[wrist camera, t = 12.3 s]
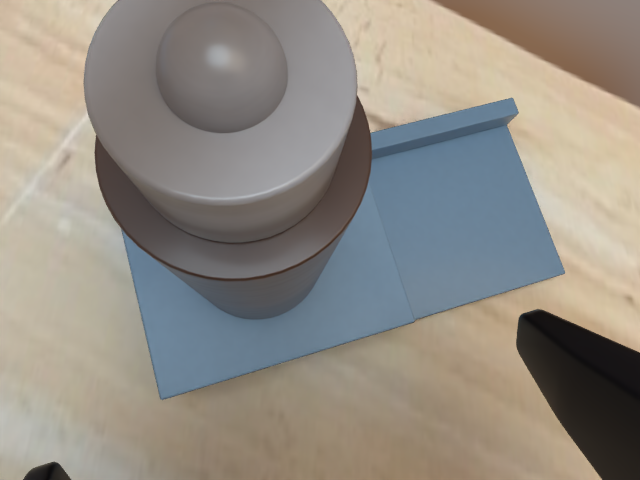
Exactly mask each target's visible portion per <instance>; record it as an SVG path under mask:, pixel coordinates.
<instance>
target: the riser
mask: <svg viewBox="0 0 640 480" xmlns="http://www.w3.org/2000/svg"><path fill="white" fill-rule="evenodd" d="M518 113H519V112H518V109H517V107H516V104H515V102H514V99H513V98H509V99H505V100H501V101H497V102H493V103H489V104H485V105H481V106H477V107H473V108H469V109H465V110H461V111H457V112H453V113H449V114H445V115H441V116H437V117H433V118H428V119H424V120H420V121H416V122H412V123H408V124H404V125H400V126H396V127H392V128H388V129H384V130H380V131H376V132H372V133H370V135H371V143H372V163H371V173H370V177H369V181H368V186H367V189H366V192H365V195H364V197H363V200H362V202H361V205H360V206H359V208H358V210H357V212H356V214H355V216H354V217H353V219H352V221H351V223H350V224H349V226H348V228H347V230H346V231H345V233H344V235H343V237H342V238H341V240H340V242H339V243H338V245H337V247H336V249H335V250H334V252H333V254H332V256H331V257H330V259H329V261H328V262H327V264H326V266H325V268H324V269H323V271H322V273H321V275H320V276H319V278H318V280H317V281H316V283H315V285H314V287H313V288H312V290H311V291H310V293H309V294H308V295H307V296H306V297H305V298H304V300H303V301H302V302H300V303H299V304H298V305H297V306H296V307H294V308H293V309H291V310H289V311H288V312H286V313H283V314H281V315H279V316H275V317H272V318H267V319H254V320H252V319H244V318H239V317H235V316H233V315H230V314H228V313H226V312H224V311H222V310H220V309H219V308H217V307H216V306H215V305H213V304H212V303H211V302H209V301H208V300H207V299H206V298H204V297H203V296H202V295H200V294H199V293H198V292H196V291H195V290H194V289H192V288H191V287H190V286H189V285H187V284H186V283H185V282H183V281H182V280H181V279H179V278H178V277H177V276H176V275H174V274H173V273H172V272H170V271H169V270H168V269H166V268H165V267H164V266H162V265H161V264H160V263H159V262H157V261H156V260H155V259H153V258H152V257H151V256H149V255H148V254H147V253H146V252H144V251H143V250H142V249H140V248H139V247H138V246H137V245H136V244H135V243H134V242H133V241H132V240H131V239H130V238H129V237H128V236H127V235H126V234H125V233H124V231H123V230H122V229H121V230H122V234H123V238H124V243H125V247H126V252H127V256H128V260H129V265H130V269H131V273H132V278H133V282H134V286H135V291H136V295H137V300H138V304H139V308H140V313H141V317H142V321H143V326H144V330H145V334H146V339H147V343H148V348H149V352H150V356H151V361H152V365H153V369H154V374H155V378H156V382H157V387H158V391H159V396H160V399H161V400H164V399H167V398H171V397H174V396H177V395H180V394H184V393H187V392H190V391H193V390H196V389H200V388H203V387H206V386H209V385H213V384H216V383H219V382H222V381H226V380H229V379H232V378H235V377H239V376H242V375H245V374H248V373H251V372H255V371H258V370H261V369H264V368H268V367H271V366H274V365H277V364H281V363H284V362H287V361H290V360H294V359H297V358H300V357H303V356H306V355H310V354H313V353H316V352H319V351H323V350H326V349H329V348H332V347H336V346H339V345H342V344H345V343H348V342H352V341H355V340H358V339H361V338H365V337H368V336H371V335H374V334H378V333H381V332H384V331H387V330H391V329H394V328H397V327H400V326H403V325H407V324H410V323H413V322H415V320H417V319H420V318H423V317H426V316H430V315H433V314H436V313H439V312H443V311H446V310H449V309H452V308H456V307H459V306H462V305H465V304H469V303H472V302H475V301H478V300H481V299H485V298H488V297H491V296H494V295H498V294H501V293H504V292H507V291H511V290H514V289H517V288H520V287H524V286H527V285H530V284H533V283H537V282H540V281H543V280H546V279H550V278H553V277H556V276H559V275H562V274H565V271H564V268H563V266H562V263H561V261H560V258H559V256H558V253H557V251H556V248H555V246H554V243H553V241H552V238H551V235H550V233H549V230H548V228H547V225H546V223H545V220H544V218H543V215H542V213H541V210H540V208H539V205H538V203H537V200H536V198H535V195H534V193H533V190H532V187H531V185H530V182H529V180H528V177H527V175H526V172H525V170H524V167H523V165H522V162H521V160H520V157H519V155H518V152H517V150H516V147H515V145H514V142H513V139H512V137H511V134H510V132H509V129H508V127H507V124H508V123H509V122H510V121H511V120H512V119H513V118H514V117H515V116H516V115H517V114H518Z"/></svg>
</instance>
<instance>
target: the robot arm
mask: <svg viewBox="0 0 640 480" xmlns="http://www.w3.org/2000/svg"><path fill="white" fill-rule="evenodd" d="M516 345H517V350H518V352H519V354H520V356H521V358H522V360H523V361H524V363H525V365H526V366H527V368H528V370H529V371H530V373H531V375H532V377H533V378H534V380H535V382H536V383H537V385H538V387H539V388H540V390H541V392H542V393H543V395H544V397H545V399H546V400H547V402H548V404H549V405H550V407H551V409H552V410H553V412H554V414H555V415H556V417H557V418H558V420H559V421H560V423H561V424H562V426H563V427H564V428H565V430H566V431H567V433H568V434H569V435H570V437H571V438H572V439H573V441H574V442H575V443H576V445H577V446H578V447H579V449H580V450H581V451H582V453H583V454H584V456H585V457H586V458H587V460H588V461H589V462H590V464H591V465H592V466H593V468H594V469H595V470H596V472H597V473H598V474H599V476H600V477H601V479H602V480H640V353H639V352H637V351H635V350H633V349H630V348H628V347H626V346H623V345H621V344H619V343H617V342H614V341H612V340H610V339H608V338H605V337H603V336H601V335H599V334H596V333H594V332H592V331H589V330H587V329H585V328H583V327H580V326H578V325H576V324H574V323H571V322H569V321H567V320H565V319H562V318H560V317H558V316H555V315H553V314H551V313H549V312H546V311H544V310H540V309H537V310H533V311H530V312H527V313H523V314H522V315H521V316H520V317H519V320H518V330H517V340H516ZM23 480H71V479H70V477H69V476H68V475H67V473H66V472H65V471H64V469H63V468H62V467H61V465H60V464H59V463H56V462H51V463H48V464H44V465H41V466H38V467H35V468H33V469H31V470H30V471H29V472H28V473H27V475H26V476H25V477H24V479H23Z"/></svg>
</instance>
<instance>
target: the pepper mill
mask: <svg viewBox="0 0 640 480" xmlns="http://www.w3.org/2000/svg"><path fill="white" fill-rule="evenodd" d="M357 88H358V86H357V70H356V65H355V60H354V56H353V53H352V50H351V47H350V44H349V41H348V39H347V37H346V35H345V33H344V31H343V29H342V27H341V25H340V24H339V22H338V21H337V19H336V18H335V16H334V15H333V13H332V12H331V11H330V10H329V9H328V7H327V6H326V5H325V4H324V3H323V2H322V1H321V0H118V1H117V2H116V3H115V4H114V5H113V6H112V7H111V8H110V10H109V11H108V12H107V14H106V15H105V16H104V18H103V19H102V21H101V23H100V24H99V26H98V28H97V30H96V31H95V33H94V36H93V39H92V41H91V44H90V46H89V50H88V54H87V58H86V62H85V72H84V95H85V102H86V107H87V111H88V115H89V118H90V121H91V123H92V126H93V128H94V131H95V133H96V142H95V165H96V173H97V178H98V182H99V187H100V190H101V192H102V195H103V198H104V200H105V203H106V205H107V207H108V209H109V210H110V212H111V214H112V216H113V218H114V219H115V221H116V222H117V224H118V225H119V226H120V227H121V229H122V230H123V231H124V233H125V234H126V235H127V236H128V237H129V238H130V239H131V240H132V241H133V242H134V243H135V244H136V245H137V246H138V247H139V248H140V249H142V250H143V251H144V252H146V253H147V254H148V255H149V256H151V257H152V258H153V259H155V260H156V261H157V262H159V263H160V264H161V265H162V266H164V267H165V268H166V269H168V270H169V271H170V272H172V273H173V274H174V275H176V276H177V277H178V278H179V279H181V280H182V281H183V282H185V283H186V284H187V285H189V286H190V287H191V288H192V289H194V290H195V291H196V292H198V293H199V294H200V295H202V296H203V297H204V298H206V299H207V300H208V301H209V302H211V303H212V304H213V305H215V306H216V307H217V308H219V309H220V310H222V311H224V312H226V313H228V314H230V315H233V316H235V317H239V318H244V319H252V320H254V319H267V318H272V317H275V316H279V315H281V314H283V313H286V312H288V311H289V310H291V309H293V308H294V307H296V306H297V305H298V304H299V303H300V302H302V301H303V300H304V298H305V297H306V296H307V295H308V294H309V293H310V291H311V290H312V288H313V287H314V285H315V283H316V281H317V280H318V278H319V276H320V275H321V273H322V271H323V269H324V268H325V266H326V264H327V262H328V261H329V259H330V257H331V256H332V254H333V252H334V250H335V249H336V247H337V245H338V243H339V242H340V240H341V238H342V237H343V235H344V233H345V231H346V230H347V228H348V226H349V224H350V223H351V221H352V219H353V217H354V216H355V214H356V212H357V210H358V208H359V206H360V205H361V202H362V200H363V197H364V195H365V192H366V189H367V186H368V181H369V177H370V173H371V163H372V143H371V135H370V129H369V124H368V121H367V118H366V115H365V112H364V109H363V106H362V104H361V102H360V100H359V98H358V96H357Z"/></svg>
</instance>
